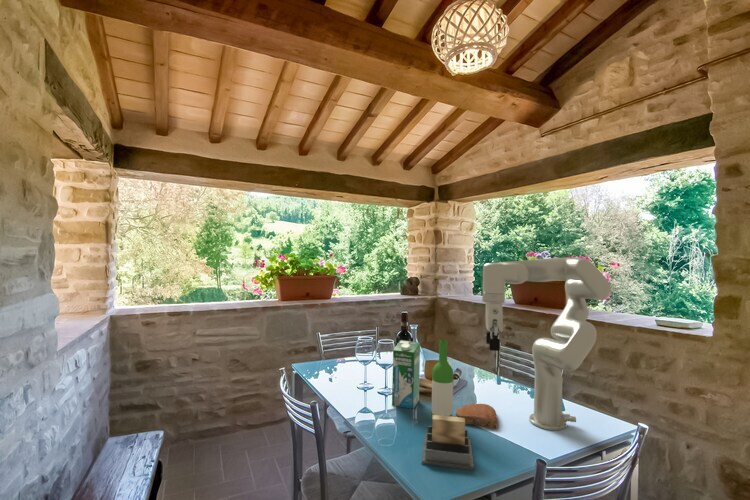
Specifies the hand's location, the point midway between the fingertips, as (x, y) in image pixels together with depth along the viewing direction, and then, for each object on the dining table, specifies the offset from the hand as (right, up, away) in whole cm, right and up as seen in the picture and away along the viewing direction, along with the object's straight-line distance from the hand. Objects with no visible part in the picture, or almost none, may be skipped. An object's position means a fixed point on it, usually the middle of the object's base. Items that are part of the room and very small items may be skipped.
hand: (492, 347), depth 132 cm
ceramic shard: (-3, -31, +12) cm, 33 cm away
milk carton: (-28, -30, +25) cm, 49 cm away
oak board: (-18, -29, -13) cm, 36 cm away
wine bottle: (-16, -30, +9) cm, 35 cm away
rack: (-18, -30, -13) cm, 37 cm away
